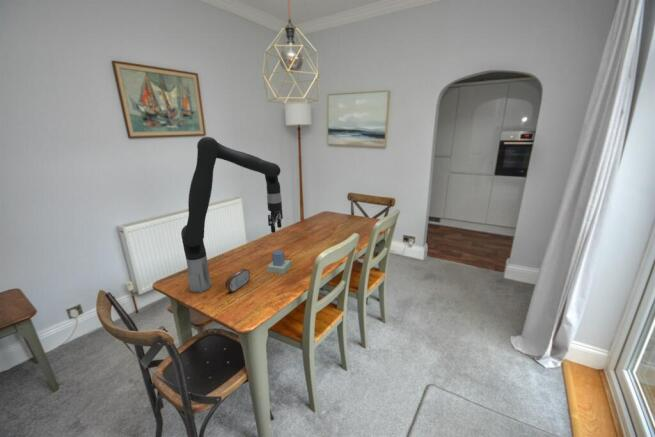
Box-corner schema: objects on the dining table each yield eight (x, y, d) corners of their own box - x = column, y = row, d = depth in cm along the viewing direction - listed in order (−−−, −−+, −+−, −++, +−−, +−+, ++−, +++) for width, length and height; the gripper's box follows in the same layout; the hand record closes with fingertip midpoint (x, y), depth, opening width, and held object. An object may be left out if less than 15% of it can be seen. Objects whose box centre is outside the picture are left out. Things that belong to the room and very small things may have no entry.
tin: (247, 279, 151) (245, 265, 148) (251, 280, 149) (250, 266, 147) (225, 293, 138) (223, 278, 135) (230, 295, 137) (228, 279, 134)
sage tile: (283, 275, 156) (283, 268, 154) (267, 272, 158) (267, 266, 157) (291, 267, 165) (290, 260, 164) (275, 265, 168) (275, 258, 166)
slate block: (281, 266, 157) (280, 254, 155) (273, 265, 158) (272, 253, 156) (284, 262, 162) (283, 251, 160) (276, 261, 163) (275, 250, 161)
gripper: (275, 204, 142) (277, 234, 147) (285, 198, 155) (287, 226, 160) (262, 204, 144) (264, 234, 148) (273, 197, 157) (275, 225, 162)
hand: (276, 229), depth 154 cm, fingers open, 8 cm apart
